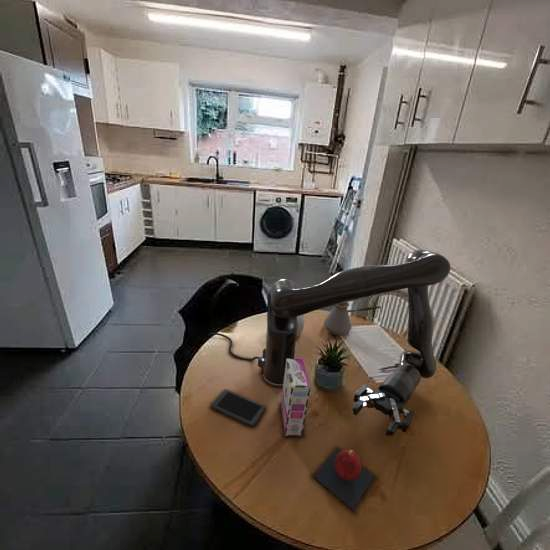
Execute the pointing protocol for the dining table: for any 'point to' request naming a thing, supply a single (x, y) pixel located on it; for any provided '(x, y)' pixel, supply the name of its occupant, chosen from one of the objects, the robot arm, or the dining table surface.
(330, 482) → the front mat
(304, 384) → the candy bar box
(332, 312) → the coffee pot
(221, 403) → the cell phone
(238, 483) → the dining table surface
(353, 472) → the onion
